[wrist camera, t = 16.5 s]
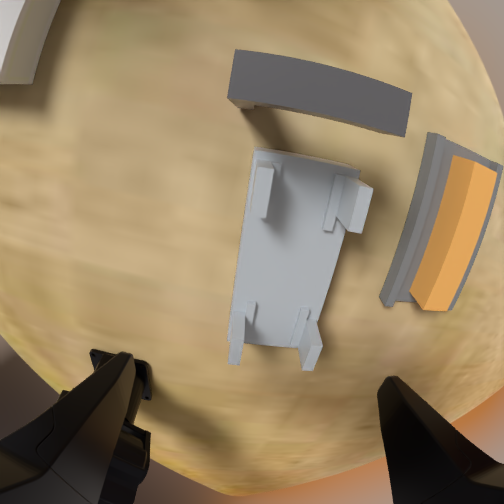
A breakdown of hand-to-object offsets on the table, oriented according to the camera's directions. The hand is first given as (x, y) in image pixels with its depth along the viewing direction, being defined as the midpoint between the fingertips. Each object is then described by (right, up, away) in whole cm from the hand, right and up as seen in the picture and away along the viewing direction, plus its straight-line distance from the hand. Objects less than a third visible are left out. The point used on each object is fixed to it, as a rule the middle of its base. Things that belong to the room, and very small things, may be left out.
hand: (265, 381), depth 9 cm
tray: (+15, +6, +11) cm, 20 cm away
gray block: (+2, +14, +8) cm, 16 cm away
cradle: (+2, +4, +12) cm, 13 cm away
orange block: (+15, +6, +11) cm, 20 cm away
